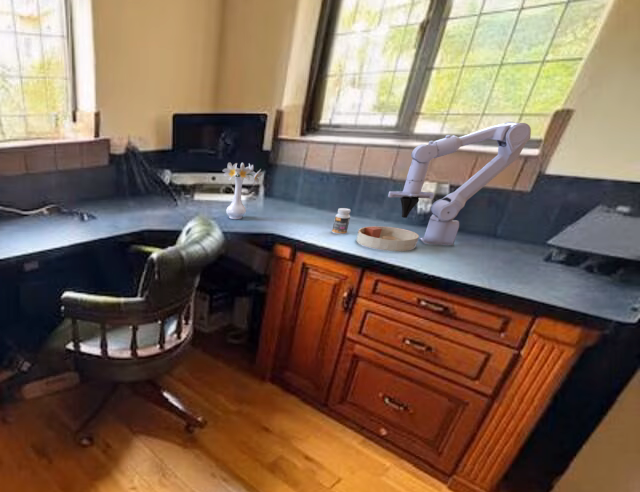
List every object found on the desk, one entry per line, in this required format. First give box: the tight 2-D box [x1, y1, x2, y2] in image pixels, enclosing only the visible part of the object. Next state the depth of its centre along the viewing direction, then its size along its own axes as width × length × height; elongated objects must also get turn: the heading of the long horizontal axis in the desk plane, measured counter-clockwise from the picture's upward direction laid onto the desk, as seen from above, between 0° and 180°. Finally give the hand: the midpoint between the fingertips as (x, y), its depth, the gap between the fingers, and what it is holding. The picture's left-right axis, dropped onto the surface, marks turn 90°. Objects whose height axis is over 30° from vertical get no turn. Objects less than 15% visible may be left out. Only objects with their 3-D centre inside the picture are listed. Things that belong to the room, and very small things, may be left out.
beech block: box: [382, 236, 395, 240], centre depth 155 cm, size 4×4×4 cm
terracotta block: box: [364, 225, 382, 238], centre depth 167 cm, size 4×4×4 cm
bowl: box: [355, 225, 420, 252], centre depth 161 cm, size 20×20×4 cm
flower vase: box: [221, 162, 263, 220], centre depth 198 cm, size 13×18×25 cm
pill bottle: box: [331, 207, 352, 235], centre depth 174 cm, size 6×6×10 cm
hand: (404, 217), depth 161 cm, fingers closed
